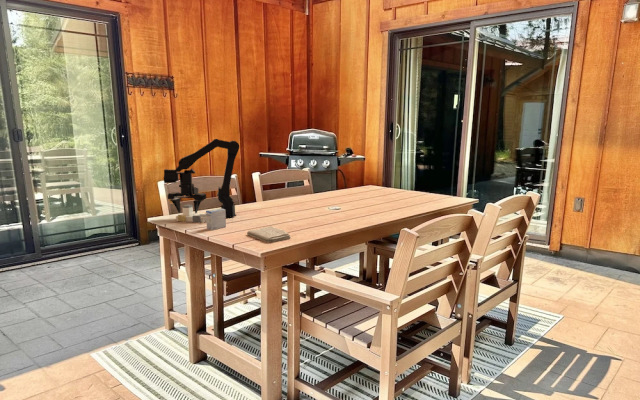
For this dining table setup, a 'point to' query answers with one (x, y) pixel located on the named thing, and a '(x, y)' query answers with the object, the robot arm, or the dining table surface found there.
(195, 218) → the socket block
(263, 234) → the washcloth
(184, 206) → the plug
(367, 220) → the dining table surface
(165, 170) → the robot arm
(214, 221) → the medicine box
